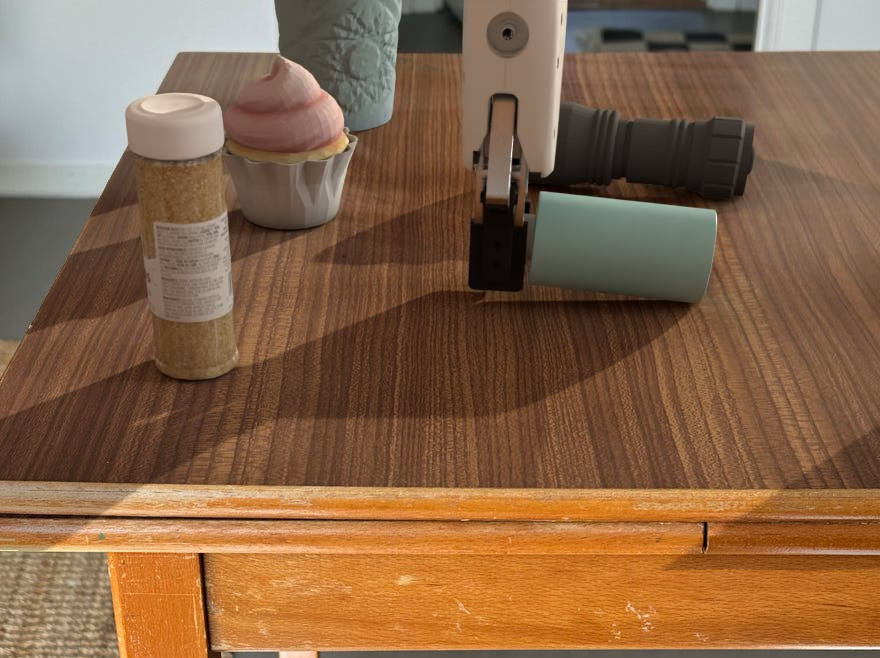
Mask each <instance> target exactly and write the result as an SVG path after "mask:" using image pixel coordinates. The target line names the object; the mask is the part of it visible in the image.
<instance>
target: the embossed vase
mask: <svg viewBox="0 0 880 658" xmlns="http://www.w3.org/2000/svg"><path fill="white" fill-rule="evenodd" d="M273 1H274V11H275V17H276V21H277V29H278V42H277V43H278V44H277V48H278V50H279V55H280V56H282V57H284V58H286V59H288V60H290V61H292V62H294V63H296V64H299V65H300V66H302V67H303V68H304V69H306V70H307V71H308V72H309V73H311V74H312V76H313V77H314V78H315V80H316V81H317V83H318V84H319V86H320V88H321V89H323V90H324V91H326V92H327V93H328V94H329V95H331V96H332V97H333V98H334V99H335V100H336V102H337V104H338V105H339V107H340V108H341V111H342V113H343V118H344V127H348V128H349V133H351V132H360V131H366V130H371V129H374V128H378V127H381V126H383V125H385V124H386V123H388V122H389V121H391V119H392V116H393V112H394V102H395V91H396V90H395V89H396V80H397V79H396V78H397V75H396V69H395V68H396V65H397V58H398V57H397V56H398V55H397V54H398V52H397V50H398V42H399V24H400V21H401V18H402V9H403V3H402V2H403V1H402V0H273Z"/></svg>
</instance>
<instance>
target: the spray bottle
mask: <svg viewBox="0 0 880 658" xmlns="http://www.w3.org/2000/svg"><path fill="white" fill-rule="evenodd" d="M514 213H515V211H514ZM524 221H528V230H527V244H526V258H525V261H526V262H529V267H528V276H527V285H529V286H535V287H546V288H553V289H564V290H573V291H582V292H589V293H590V292H591V293H599V294H606V295H607V294H608V295H617V296H626V297H635V298H642V299H643V298H644V299H653V300H660V301H671V302H680V303H688V304H697V305H698V304H701V302H702V301H703V300H704V297H705V295H706V291H707V288H708V285H709V281H710V278H711V277H710V276H711V272H712V269H713V262H714V257H715V250H716V244H717V243H716V242H717V233H718V231H717V230H718V214H717V210H715V209H709V208H700V207H691V206H681V205H674V204H673V205H671V204H663V203H654V202H644V201H636V200H625V199H617V198H609V197H608V198H607V197H599V196H589V195H580V194H572V193H571V194H570V193H562V192H561V193H560V192H551V191H541V190H540V191H539V192H538V197H537V206H536V214H533V213H530V214H525V213H524Z"/></svg>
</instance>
